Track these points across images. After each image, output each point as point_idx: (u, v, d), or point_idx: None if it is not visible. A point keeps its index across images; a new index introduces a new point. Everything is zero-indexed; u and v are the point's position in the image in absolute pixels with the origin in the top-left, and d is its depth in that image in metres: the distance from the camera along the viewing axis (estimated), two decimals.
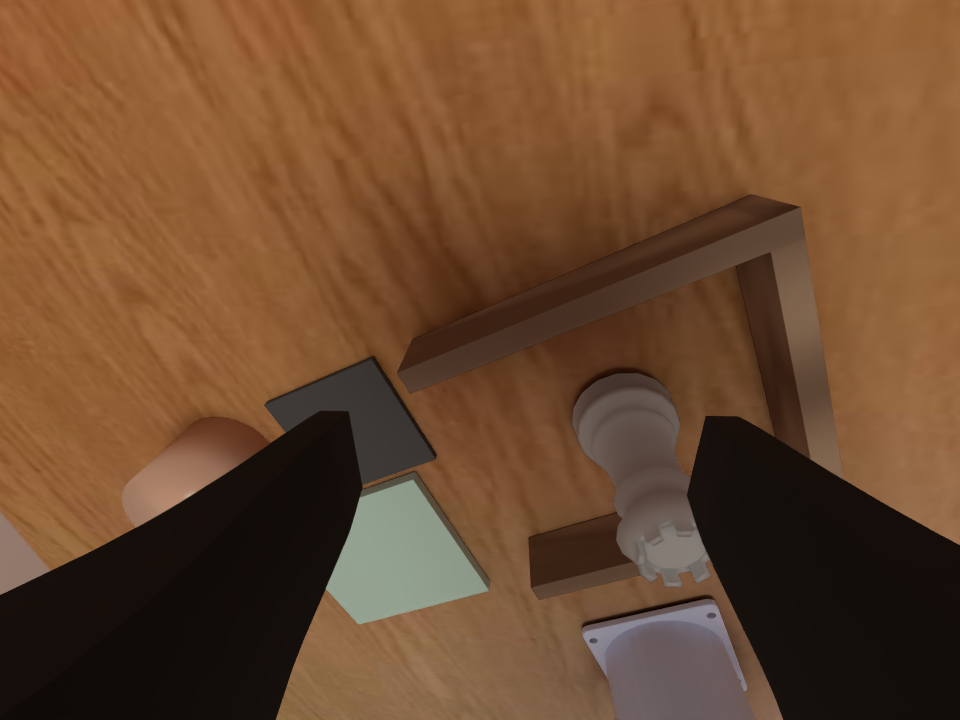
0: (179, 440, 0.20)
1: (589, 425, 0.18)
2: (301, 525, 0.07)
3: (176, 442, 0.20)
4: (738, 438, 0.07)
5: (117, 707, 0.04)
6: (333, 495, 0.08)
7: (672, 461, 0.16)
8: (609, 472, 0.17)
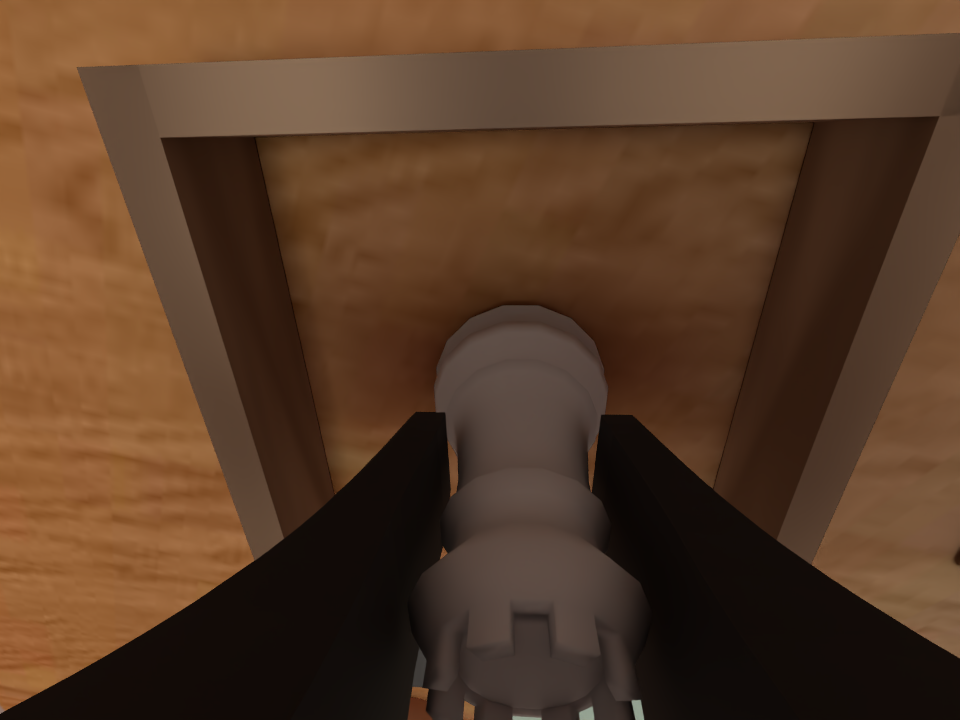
0: None
1: None
2: (421, 529, 0.07)
3: None
4: (617, 436, 0.08)
5: None
6: (437, 498, 0.08)
7: (486, 454, 0.08)
8: None
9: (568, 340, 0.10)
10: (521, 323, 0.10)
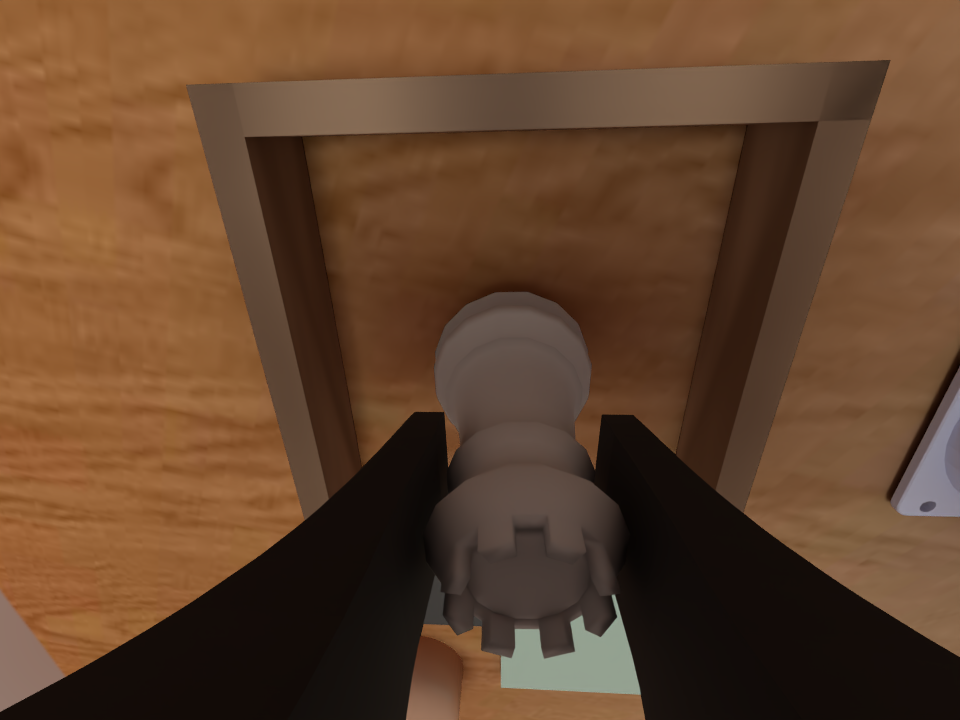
0: None
1: None
2: (419, 529, 0.07)
3: None
4: (618, 436, 0.08)
5: None
6: (436, 498, 0.08)
7: (485, 415, 0.09)
8: None
9: (555, 321, 0.11)
10: (513, 306, 0.11)
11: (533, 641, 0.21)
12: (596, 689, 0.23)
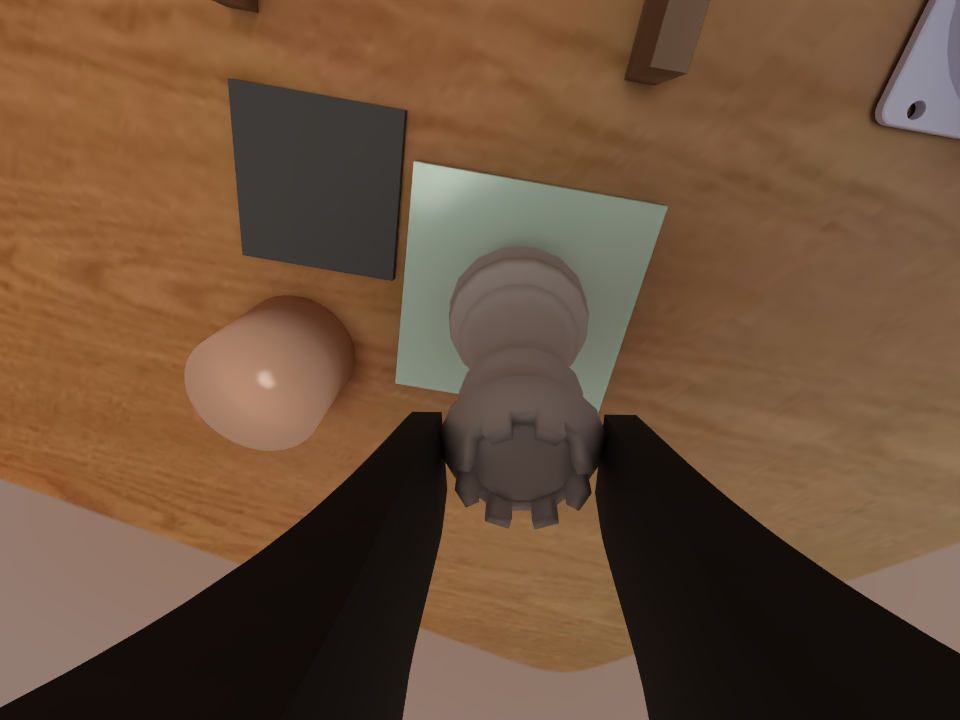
0: None
1: None
2: (416, 529, 0.07)
3: None
4: (621, 436, 0.08)
5: None
6: (433, 498, 0.08)
7: (492, 346, 0.10)
8: None
9: (556, 272, 0.13)
10: (519, 259, 0.13)
11: (441, 304, 0.18)
12: None
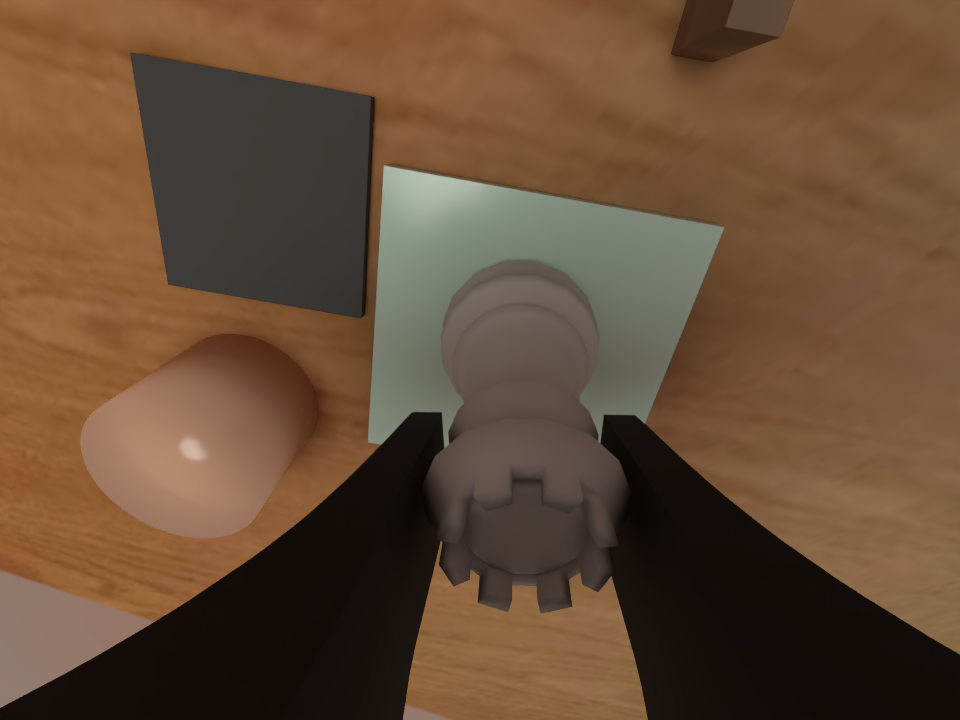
0: None
1: None
2: (416, 529, 0.07)
3: None
4: (620, 436, 0.08)
5: None
6: None
7: (489, 377, 0.09)
8: None
9: (563, 290, 0.11)
10: (520, 275, 0.11)
11: (423, 349, 0.14)
12: None
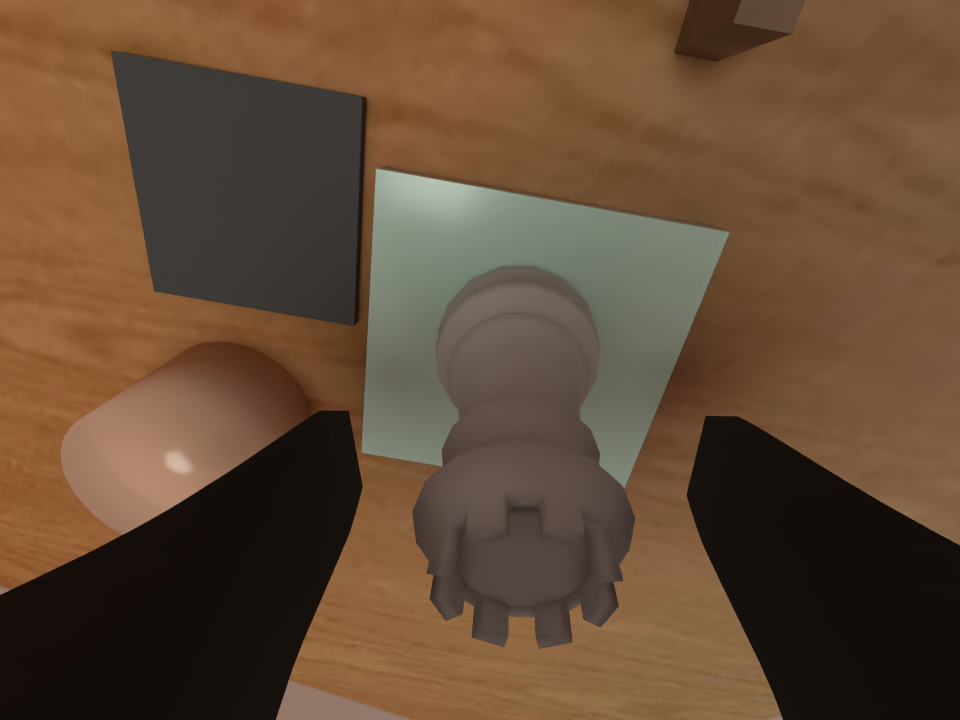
0: None
1: None
2: (301, 525, 0.07)
3: None
4: (738, 438, 0.07)
5: (117, 707, 0.04)
6: (333, 495, 0.08)
7: (484, 392, 0.08)
8: None
9: (562, 298, 0.11)
10: (518, 282, 0.11)
11: (418, 357, 0.13)
12: None
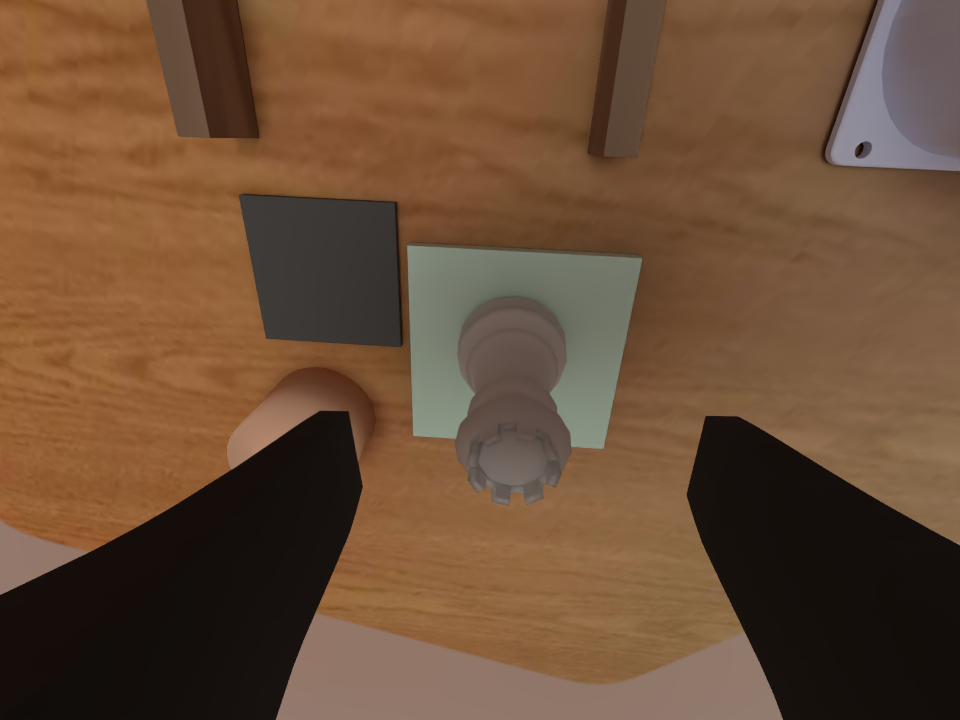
0: None
1: None
2: (301, 525, 0.07)
3: None
4: (738, 438, 0.07)
5: (117, 707, 0.04)
6: (333, 495, 0.08)
7: (488, 378, 0.14)
8: None
9: (534, 315, 0.16)
10: (505, 308, 0.17)
11: (446, 363, 0.19)
12: None
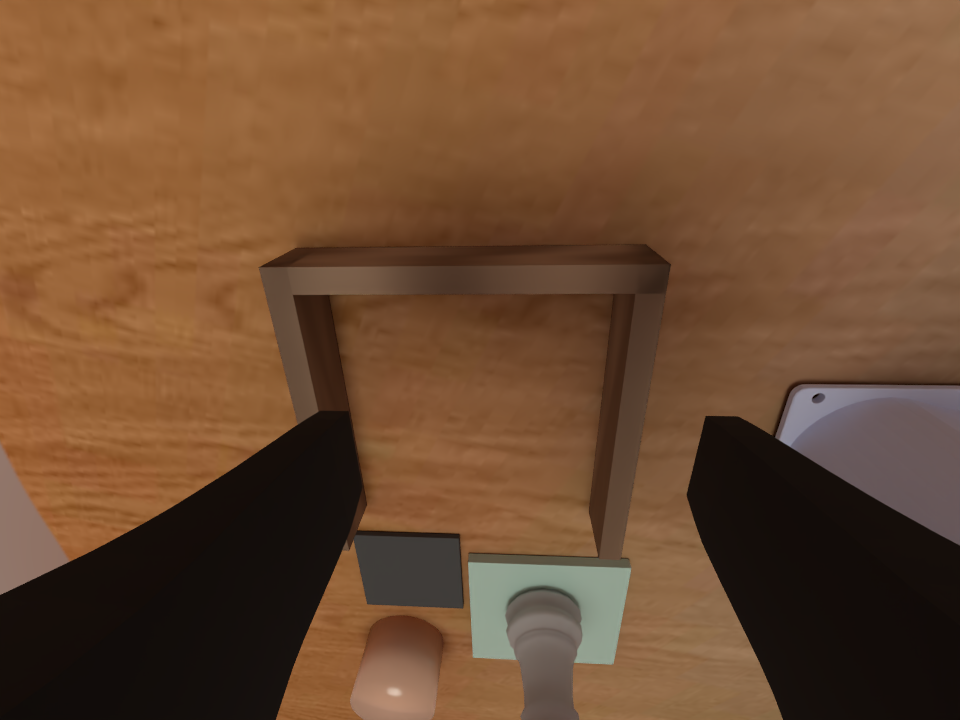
0: None
1: None
2: (301, 525, 0.07)
3: None
4: (738, 438, 0.07)
5: (117, 707, 0.04)
6: (333, 495, 0.08)
7: (532, 688, 0.22)
8: None
9: (559, 616, 0.24)
10: (538, 610, 0.24)
11: (496, 619, 0.27)
12: None
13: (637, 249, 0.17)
